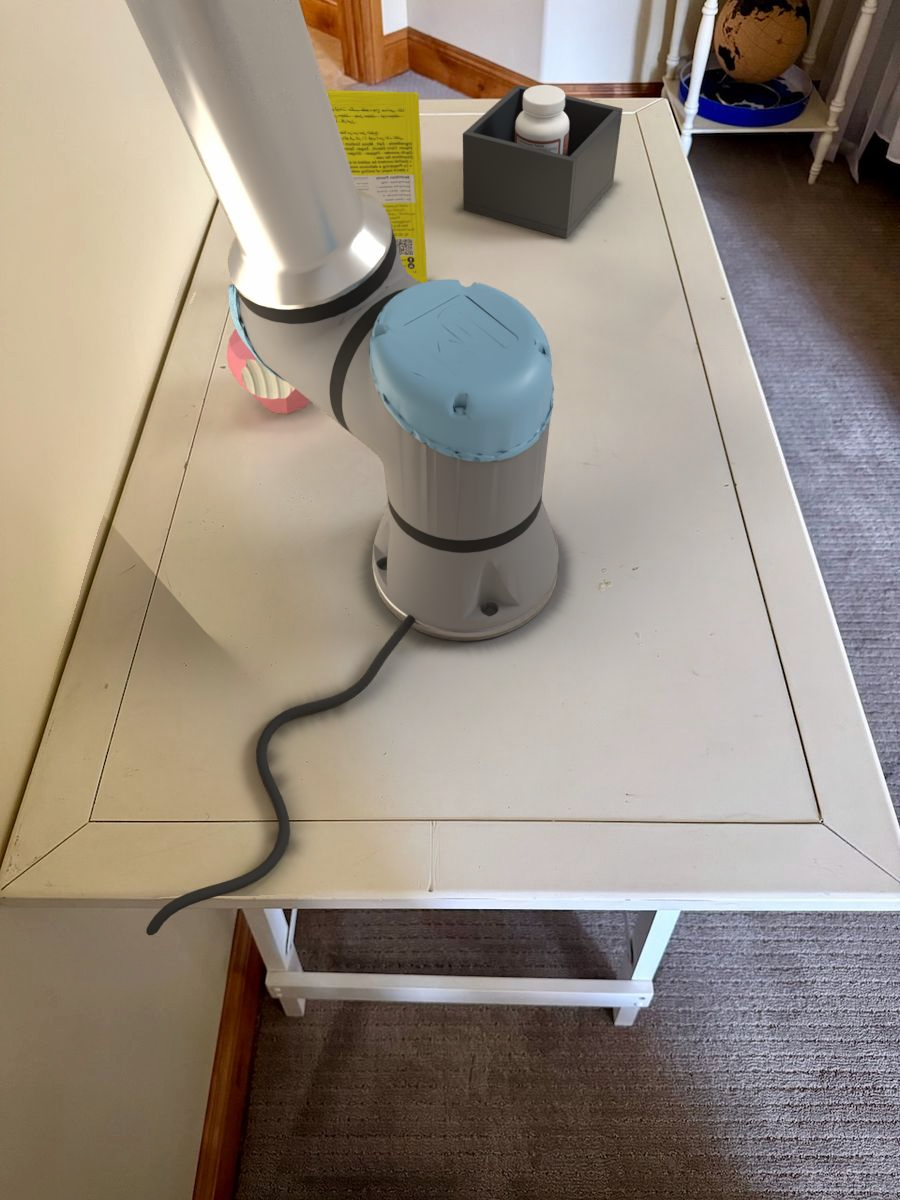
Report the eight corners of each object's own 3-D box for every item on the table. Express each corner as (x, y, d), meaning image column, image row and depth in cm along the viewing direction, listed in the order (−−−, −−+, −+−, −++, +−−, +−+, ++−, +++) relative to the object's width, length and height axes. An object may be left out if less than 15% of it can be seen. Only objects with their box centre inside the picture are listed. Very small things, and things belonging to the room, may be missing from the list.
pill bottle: (535, 172, 111) (541, 76, 102) (574, 189, 108) (583, 92, 99) (502, 191, 108) (504, 95, 99) (541, 210, 105) (547, 112, 97)
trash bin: (566, 238, 104) (573, 161, 96) (463, 209, 108) (462, 133, 101) (613, 184, 111) (622, 108, 103) (514, 158, 115) (517, 84, 108)
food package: (427, 281, 99) (418, 90, 83) (426, 287, 98) (417, 95, 82) (291, 275, 100) (256, 86, 84) (289, 281, 100) (254, 91, 84)
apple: (229, 427, 85) (204, 340, 77) (254, 369, 90) (233, 281, 82) (328, 436, 84) (312, 348, 76) (347, 376, 90) (335, 288, 82)
